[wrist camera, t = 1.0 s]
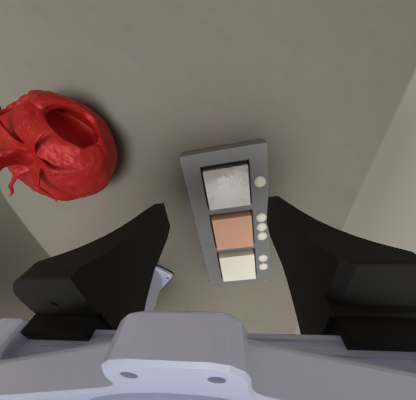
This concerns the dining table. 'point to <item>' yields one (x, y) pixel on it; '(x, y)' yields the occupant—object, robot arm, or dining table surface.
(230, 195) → the button one dot
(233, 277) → the button two dot
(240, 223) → the button three dot
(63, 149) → the red hollow rounded sculpture
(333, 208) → the dining table surface
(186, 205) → the dining table surface
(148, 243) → the robot arm
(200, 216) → the button panel
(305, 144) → the dining table surface
